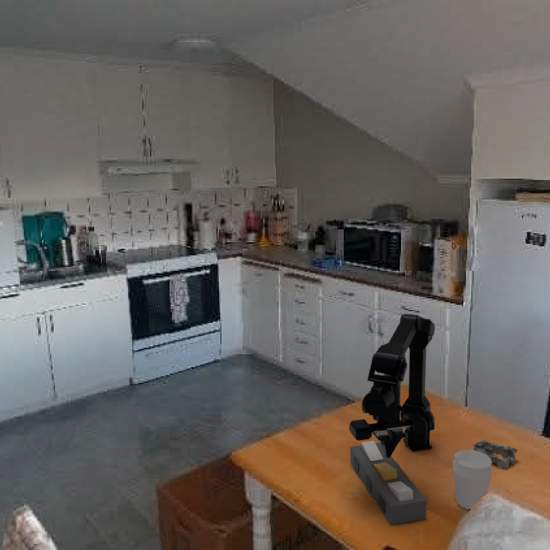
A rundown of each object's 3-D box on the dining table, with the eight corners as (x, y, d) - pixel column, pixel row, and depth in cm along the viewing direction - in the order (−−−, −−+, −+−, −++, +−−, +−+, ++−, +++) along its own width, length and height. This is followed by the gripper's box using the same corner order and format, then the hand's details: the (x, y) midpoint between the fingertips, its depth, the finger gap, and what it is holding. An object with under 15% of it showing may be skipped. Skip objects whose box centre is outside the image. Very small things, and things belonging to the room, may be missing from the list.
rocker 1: (373, 446, 158) (373, 440, 157) (382, 465, 152) (383, 458, 150) (360, 448, 157) (361, 442, 156) (370, 467, 151) (370, 460, 150)
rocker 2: (386, 470, 149) (385, 462, 149) (397, 478, 142) (396, 469, 142) (374, 472, 148) (373, 464, 148) (384, 480, 141) (383, 471, 141)
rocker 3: (401, 490, 140) (400, 480, 140) (413, 499, 133) (412, 489, 133) (387, 492, 140) (386, 483, 140) (399, 501, 133) (398, 492, 133)
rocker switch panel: (380, 458, 160) (380, 442, 159) (426, 518, 134) (426, 500, 133) (349, 463, 159) (349, 447, 158) (390, 525, 132) (390, 506, 131)
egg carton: (518, 462, 156) (519, 449, 156) (502, 472, 152) (503, 458, 151) (485, 447, 165) (486, 434, 164) (469, 455, 161) (470, 442, 160)
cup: (446, 493, 143) (447, 450, 141) (480, 490, 144) (482, 448, 141) (460, 515, 135) (462, 470, 132) (496, 512, 135) (499, 467, 133)
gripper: (409, 383, 148) (408, 437, 151) (342, 390, 145) (342, 446, 148) (429, 400, 138) (427, 458, 141) (356, 409, 134) (356, 468, 137)
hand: (387, 457), depth 142 cm, fingers closed
